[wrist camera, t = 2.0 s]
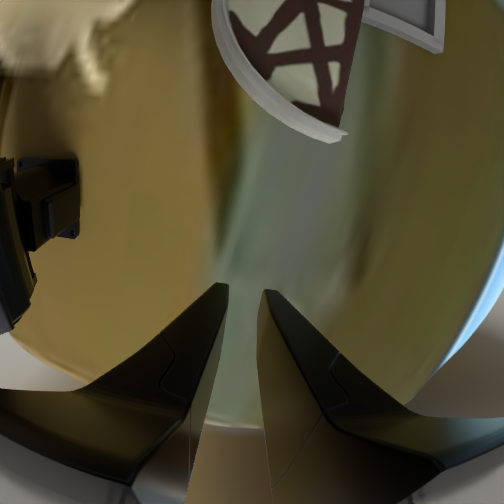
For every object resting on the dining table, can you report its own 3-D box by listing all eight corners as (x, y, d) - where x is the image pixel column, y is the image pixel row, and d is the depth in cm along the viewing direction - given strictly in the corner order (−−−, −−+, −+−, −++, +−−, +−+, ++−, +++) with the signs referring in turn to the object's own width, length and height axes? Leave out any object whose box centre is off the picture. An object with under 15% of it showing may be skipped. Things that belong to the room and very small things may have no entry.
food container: (243, -34, 13) (243, -116, 4) (328, -16, 14) (381, -84, 5) (207, 116, 18) (174, 116, 9) (297, 133, 19) (344, 148, 10)
